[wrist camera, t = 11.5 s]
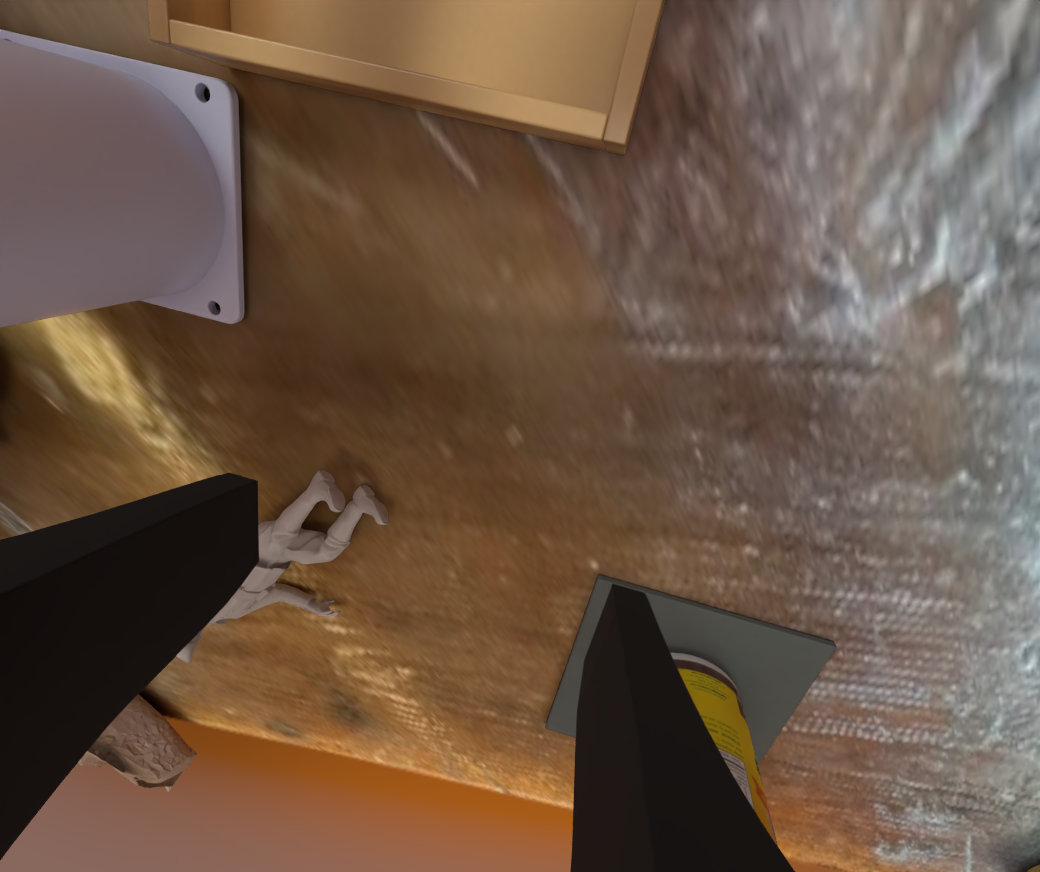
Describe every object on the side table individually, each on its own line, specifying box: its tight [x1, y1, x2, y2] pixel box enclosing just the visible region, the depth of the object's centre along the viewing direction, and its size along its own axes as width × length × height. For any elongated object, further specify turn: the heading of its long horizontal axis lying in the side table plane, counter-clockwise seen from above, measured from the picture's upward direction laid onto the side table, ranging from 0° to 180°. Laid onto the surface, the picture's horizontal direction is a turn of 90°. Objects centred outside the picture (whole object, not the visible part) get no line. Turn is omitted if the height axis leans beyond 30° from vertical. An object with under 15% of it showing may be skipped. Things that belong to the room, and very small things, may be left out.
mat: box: [545, 575, 836, 765], centre depth 24 cm, size 10×10×1 cm
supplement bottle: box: [671, 653, 778, 846], centre depth 19 cm, size 6×6×10 cm
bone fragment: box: [78, 694, 197, 791], centre depth 30 cm, size 14×6×5 cm, turn 54°
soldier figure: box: [176, 469, 389, 663], centre depth 23 cm, size 8×5×12 cm
